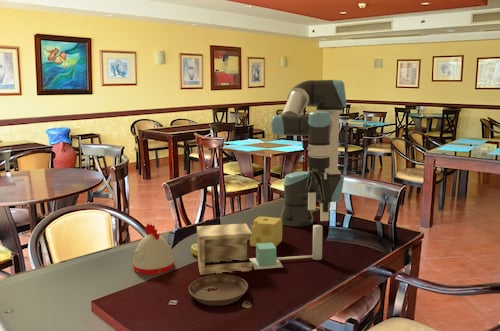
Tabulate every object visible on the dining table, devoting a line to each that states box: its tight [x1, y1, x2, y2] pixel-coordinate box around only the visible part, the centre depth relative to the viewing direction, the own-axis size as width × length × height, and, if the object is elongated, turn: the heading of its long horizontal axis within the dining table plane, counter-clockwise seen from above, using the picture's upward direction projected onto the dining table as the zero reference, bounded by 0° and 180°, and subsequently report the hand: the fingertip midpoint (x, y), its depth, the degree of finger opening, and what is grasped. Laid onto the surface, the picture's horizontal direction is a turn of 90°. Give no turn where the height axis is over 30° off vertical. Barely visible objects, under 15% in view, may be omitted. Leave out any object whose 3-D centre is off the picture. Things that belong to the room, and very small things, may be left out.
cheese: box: [249, 215, 283, 248], centre depth 181 cm, size 10×11×10 cm
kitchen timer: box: [132, 223, 175, 275], centre depth 158 cm, size 14×14×15 cm
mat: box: [248, 256, 284, 270], centre depth 161 cm, size 10×10×1 cm
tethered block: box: [255, 224, 324, 266], centre depth 162 cm, size 24×6×12 cm, turn 101°
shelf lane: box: [196, 223, 253, 276], centre depth 157 cm, size 18×12×13 cm, turn 101°
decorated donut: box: [190, 242, 198, 258], centre depth 171 cm, size 10×11×4 cm
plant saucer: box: [188, 273, 249, 307], centre depth 136 cm, size 18×18×3 cm
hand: (317, 215), depth 162 cm, fingers open, 13 cm apart
